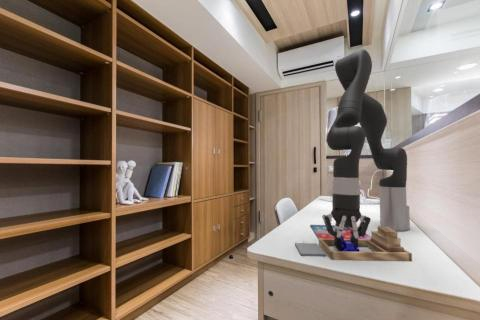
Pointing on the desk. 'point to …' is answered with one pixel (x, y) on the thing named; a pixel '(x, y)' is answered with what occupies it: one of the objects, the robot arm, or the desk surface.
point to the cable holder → (347, 246)
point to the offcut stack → (387, 239)
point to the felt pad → (309, 249)
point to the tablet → (323, 234)
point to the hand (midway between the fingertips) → (345, 249)
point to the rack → (376, 255)
